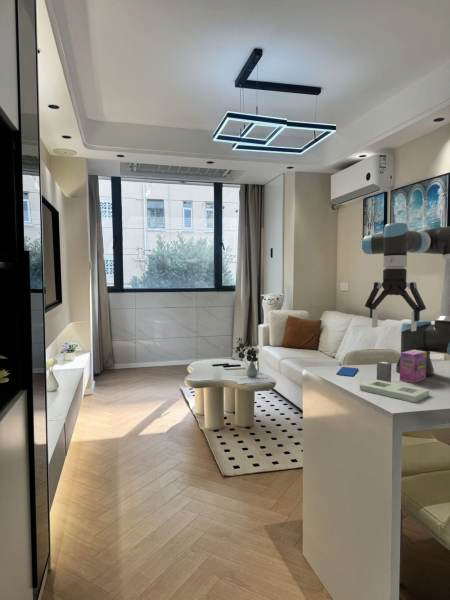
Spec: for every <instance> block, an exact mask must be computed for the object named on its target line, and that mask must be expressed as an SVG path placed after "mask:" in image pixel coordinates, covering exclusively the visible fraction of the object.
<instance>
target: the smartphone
mask: <svg viewBox="0 0 450 600" xmlns="http://www.w3.org/2000/svg"><path fill="white" fill-rule="evenodd" d="M358 371H359V368H358V367H349V366H348V367H347V366H342V367H340V369H339V370H338V371H337V372H336V373H335V375H336V376H343V377H353V378H354V377H355V375H356V374H357V372H358Z"/></svg>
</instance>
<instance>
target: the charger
mask: <svg viewBox="0 0 450 600" xmlns="http://www.w3.org/2000/svg"><path fill="white" fill-rule="evenodd" d="M376 379H377V380H382V381H387V382H392V362H388V361H378V362H377V363H376Z"/></svg>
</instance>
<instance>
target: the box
mask: <svg viewBox="0 0 450 600" xmlns="http://www.w3.org/2000/svg"><path fill="white" fill-rule="evenodd" d="M400 355H401V357H400V356H399V357H400V373H399V381H401V382H405V383H409V384H415V383H418V382H422V381H425V380H426V378H427V376H426V357H427V352H425V351H419V350H410V351H406V352H401V351H400Z"/></svg>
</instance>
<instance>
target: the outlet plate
mask: <svg viewBox="0 0 450 600" xmlns="http://www.w3.org/2000/svg"><path fill="white" fill-rule="evenodd" d="M359 391H363V392H367V393H372V394H376V395H381V396H386V397H389V398H393V399H394V398H395V399H398V400H402V401H407V402H411V403H417V402H419V401H421V400H423V399H425V398H427V397H429V396H430V389H427V388H421V387H416V386H411V385H406V384H401V383H396V382H392V381H391V382H387V381H382V380H377V378H375V379H373V380H369V381H366V382H364V383H361V384H359Z"/></svg>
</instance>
